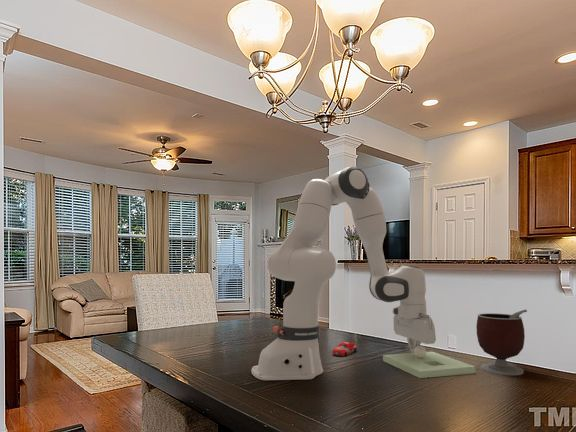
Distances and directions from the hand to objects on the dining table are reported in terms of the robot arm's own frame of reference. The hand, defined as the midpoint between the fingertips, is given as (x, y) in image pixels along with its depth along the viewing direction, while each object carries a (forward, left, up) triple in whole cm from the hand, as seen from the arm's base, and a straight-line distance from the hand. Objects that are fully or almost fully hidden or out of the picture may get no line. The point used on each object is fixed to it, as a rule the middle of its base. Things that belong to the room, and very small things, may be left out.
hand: (414, 352), depth 147 cm
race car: (-18, +18, -4) cm, 26 cm away
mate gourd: (+21, -18, -3) cm, 28 cm away
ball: (0, -3, +1) cm, 4 cm away
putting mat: (0, -7, -3) cm, 8 cm away
